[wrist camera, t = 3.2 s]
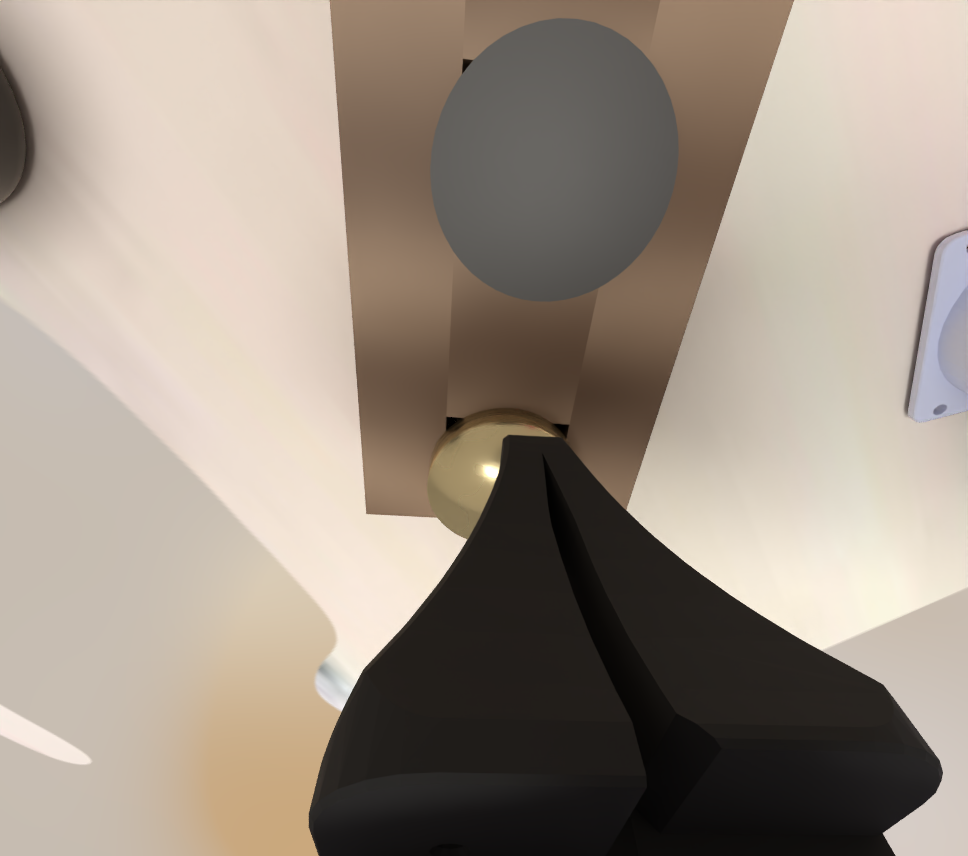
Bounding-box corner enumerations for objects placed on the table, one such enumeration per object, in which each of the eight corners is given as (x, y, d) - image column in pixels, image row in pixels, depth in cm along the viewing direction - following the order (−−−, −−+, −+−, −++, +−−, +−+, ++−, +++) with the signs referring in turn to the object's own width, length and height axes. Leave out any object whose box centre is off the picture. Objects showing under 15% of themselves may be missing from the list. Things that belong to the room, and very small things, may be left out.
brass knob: (439, 358, 18) (428, 422, 14) (568, 367, 19) (594, 432, 15) (435, 463, 21) (425, 541, 17) (548, 470, 21) (565, 548, 17)
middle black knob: (447, 46, 12) (433, 2, 8) (638, 66, 13) (715, 34, 9) (440, 250, 15) (427, 293, 11) (597, 263, 15) (640, 309, 11)
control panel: (340, -618, 8) (250, -1120, 5) (862, -521, 9) (1095, -915, 6) (383, 453, 21) (366, 514, 18) (598, 466, 22) (620, 527, 18)
